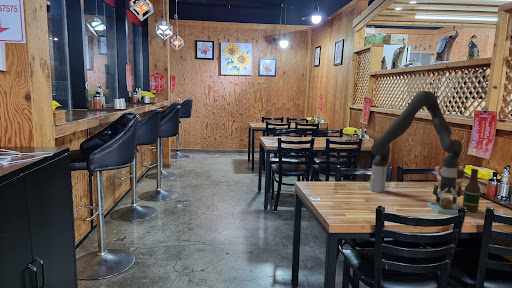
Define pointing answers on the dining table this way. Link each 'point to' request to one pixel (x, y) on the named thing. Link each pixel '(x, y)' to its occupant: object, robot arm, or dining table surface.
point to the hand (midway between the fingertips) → (445, 203)
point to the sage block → (444, 197)
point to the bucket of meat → (459, 174)
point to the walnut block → (446, 203)
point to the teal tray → (442, 211)
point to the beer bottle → (472, 193)
